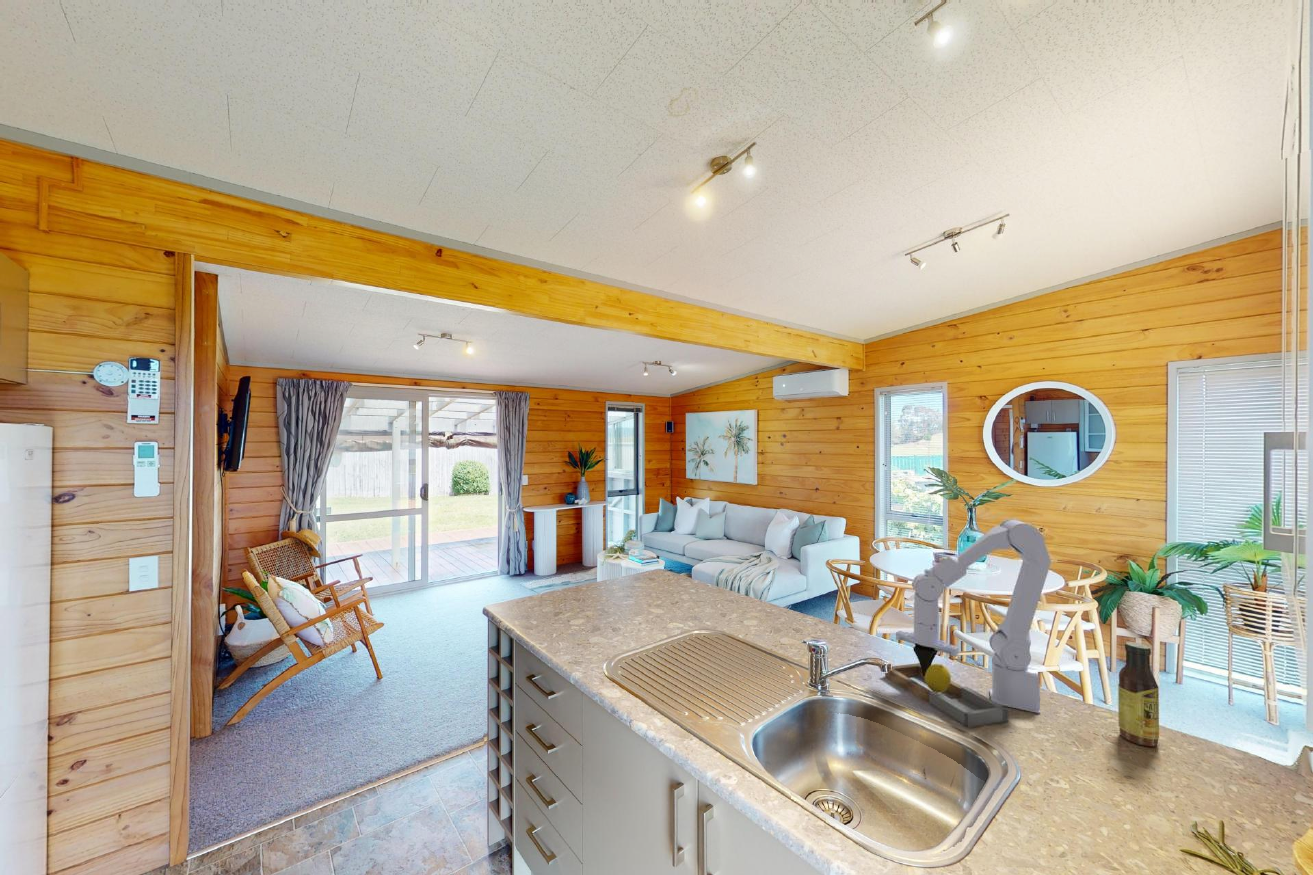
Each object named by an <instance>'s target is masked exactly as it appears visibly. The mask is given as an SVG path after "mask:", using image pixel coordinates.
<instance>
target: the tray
mask: <svg viewBox="0 0 1313 875" xmlns="http://www.w3.org/2000/svg"><path fill="white" fill-rule="evenodd" d="M961 695H962V698H958V697H957V698H951V699H949V698H948V697H946V696H944V695H942V694H941V693H937V692H936V691H932V690H930V692H929V705H930V706H932V707H933V708H935V709H937V710H938V711H940V712H941V713H943V715H946V716H948V717H949V718H951V719H952V720H955V721H956V722H957V723H958V724H960V725H962V726H963V727H965V728H967V729H973V728H979V727H984V726H985V725H986V726H990V725H991V726H992V725H998V724H997V723H999V724H1004V723H1008V721H1009V716H1008V712H1009V711H1008V710H1009V709H1008V708H1007V706H1003V705H1000V704H998V703H996V702H994V701H992V700H991V698H990V697H989V698H988V697H986V696H985V695H983V694H981V693H980V692H977V691H976V690H973V689H972V688H970V687H968V686H962V687H961Z"/></svg>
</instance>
